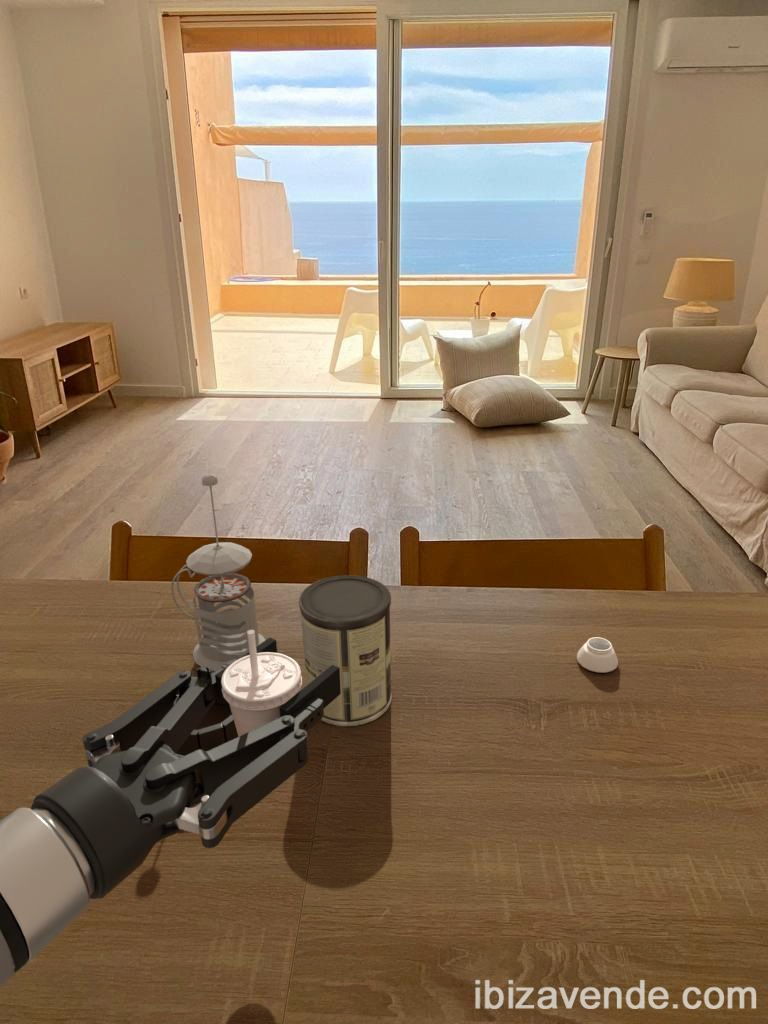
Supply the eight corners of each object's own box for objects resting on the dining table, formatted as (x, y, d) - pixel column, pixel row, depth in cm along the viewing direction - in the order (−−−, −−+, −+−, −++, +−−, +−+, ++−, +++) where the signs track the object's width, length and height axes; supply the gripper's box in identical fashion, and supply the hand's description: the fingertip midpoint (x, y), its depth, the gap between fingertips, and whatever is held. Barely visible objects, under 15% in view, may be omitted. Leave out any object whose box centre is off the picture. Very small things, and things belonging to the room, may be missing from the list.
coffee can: (337, 662, 90) (332, 566, 84) (407, 688, 85) (407, 587, 79) (288, 708, 82) (279, 605, 76) (362, 739, 77) (359, 632, 71)
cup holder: (131, 776, 72) (123, 737, 70) (172, 701, 83) (166, 665, 81) (244, 782, 71) (240, 743, 69) (271, 705, 82) (267, 669, 80)
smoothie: (217, 766, 59) (198, 629, 54) (278, 729, 63) (266, 598, 58) (261, 809, 55) (245, 664, 49) (323, 766, 59) (315, 628, 54)
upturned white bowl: (591, 647, 92) (569, 662, 89) (593, 628, 91) (571, 643, 88) (624, 663, 89) (603, 680, 86) (627, 644, 88) (605, 660, 85)
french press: (253, 674, 88) (233, 491, 77) (167, 667, 89) (136, 486, 79) (276, 631, 96) (261, 462, 86) (197, 625, 98) (173, 458, 88)
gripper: (-8, 825, 49) (229, 662, 67) (172, 983, 39) (397, 743, 57) (-35, 743, 46) (221, 595, 64) (153, 892, 36) (397, 667, 54)
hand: (304, 665), depth 60 cm, fingers closed on smoothie, 6 cm apart
